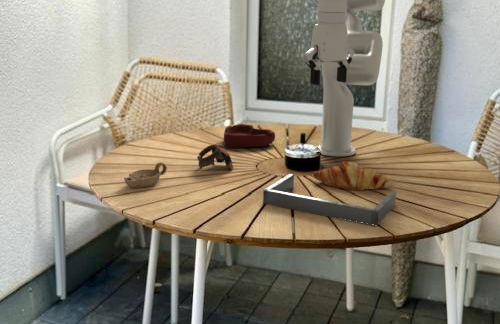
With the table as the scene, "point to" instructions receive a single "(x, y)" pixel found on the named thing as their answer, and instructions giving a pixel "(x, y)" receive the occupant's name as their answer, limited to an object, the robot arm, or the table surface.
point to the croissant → (352, 177)
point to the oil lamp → (145, 177)
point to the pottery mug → (214, 156)
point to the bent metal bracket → (324, 203)
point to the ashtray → (247, 136)
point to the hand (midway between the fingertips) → (328, 83)
